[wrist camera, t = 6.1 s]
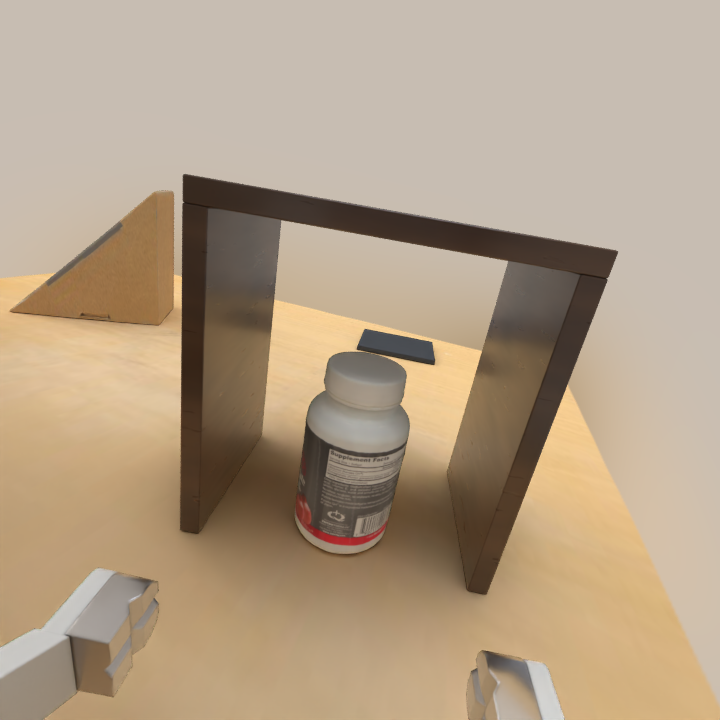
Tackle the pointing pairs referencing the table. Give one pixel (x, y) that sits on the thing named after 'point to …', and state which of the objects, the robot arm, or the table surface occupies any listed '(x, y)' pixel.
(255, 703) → the table surface
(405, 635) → the table surface
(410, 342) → the pad
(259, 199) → the arch
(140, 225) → the sandwich container
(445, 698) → the table surface
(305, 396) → the table surface
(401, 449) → the pill bottle
